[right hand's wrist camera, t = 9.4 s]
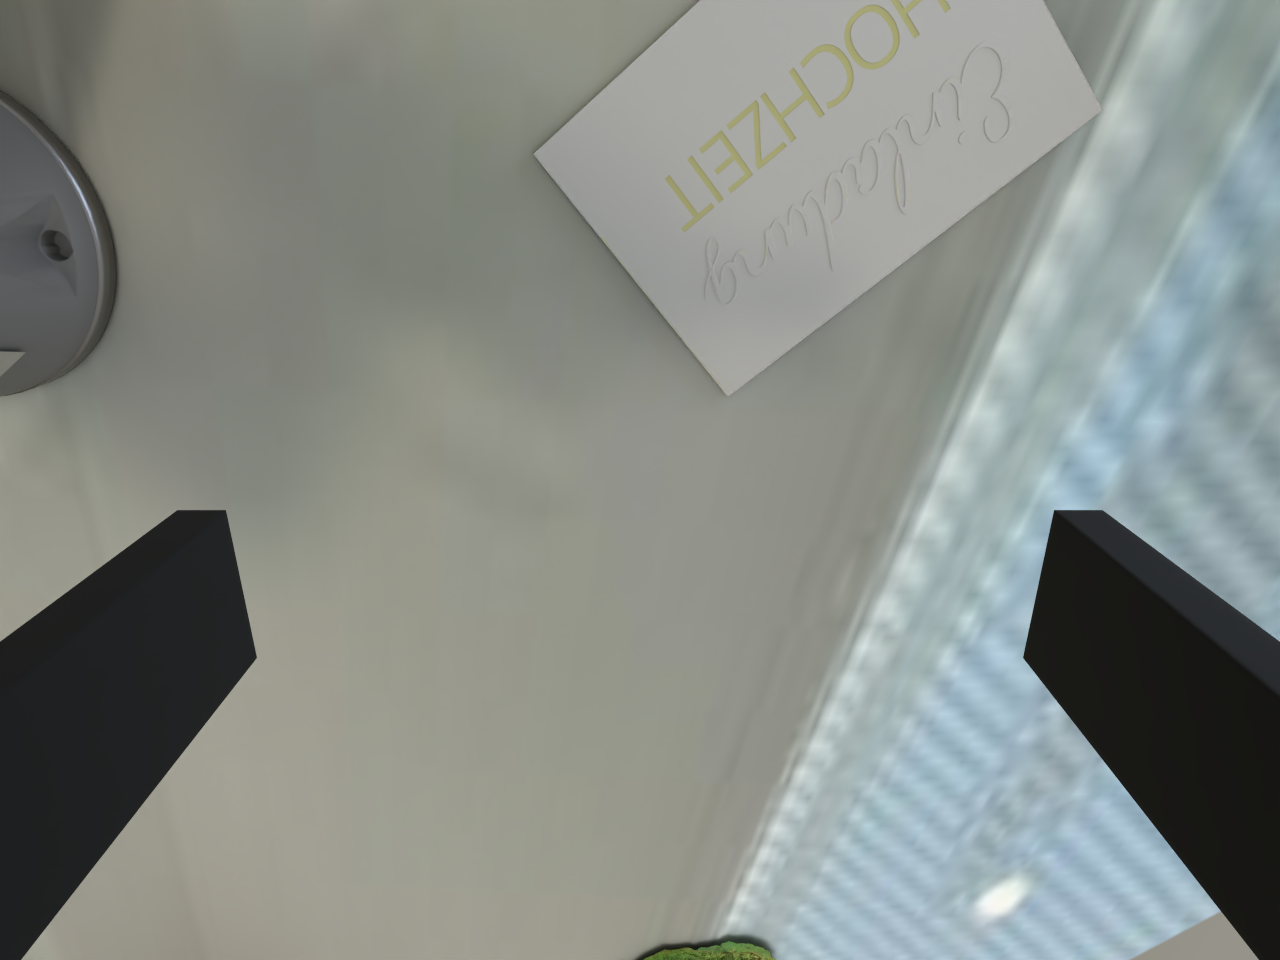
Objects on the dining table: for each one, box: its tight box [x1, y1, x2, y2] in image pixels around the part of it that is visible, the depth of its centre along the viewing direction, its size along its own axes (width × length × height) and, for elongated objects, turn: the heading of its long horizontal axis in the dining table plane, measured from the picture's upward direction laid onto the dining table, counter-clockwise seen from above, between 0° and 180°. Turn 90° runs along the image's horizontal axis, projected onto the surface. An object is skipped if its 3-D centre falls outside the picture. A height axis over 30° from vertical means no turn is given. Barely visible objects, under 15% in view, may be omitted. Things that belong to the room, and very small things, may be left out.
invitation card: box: [534, 0, 1103, 397], centre depth 36 cm, size 21×1×15 cm
